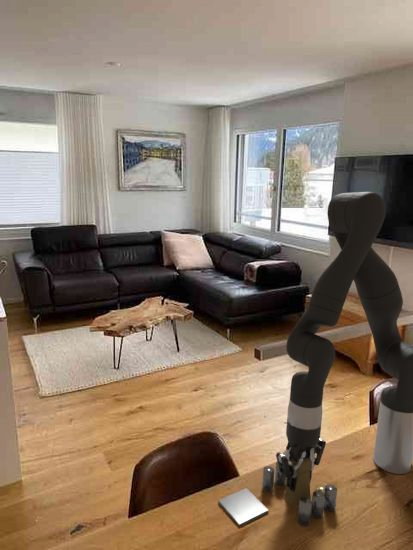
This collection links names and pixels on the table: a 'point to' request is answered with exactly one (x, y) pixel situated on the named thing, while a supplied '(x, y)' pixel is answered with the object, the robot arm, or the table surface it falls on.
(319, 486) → the glossy gold bead
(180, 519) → the table surface
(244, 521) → the coaster
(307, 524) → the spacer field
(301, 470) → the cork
